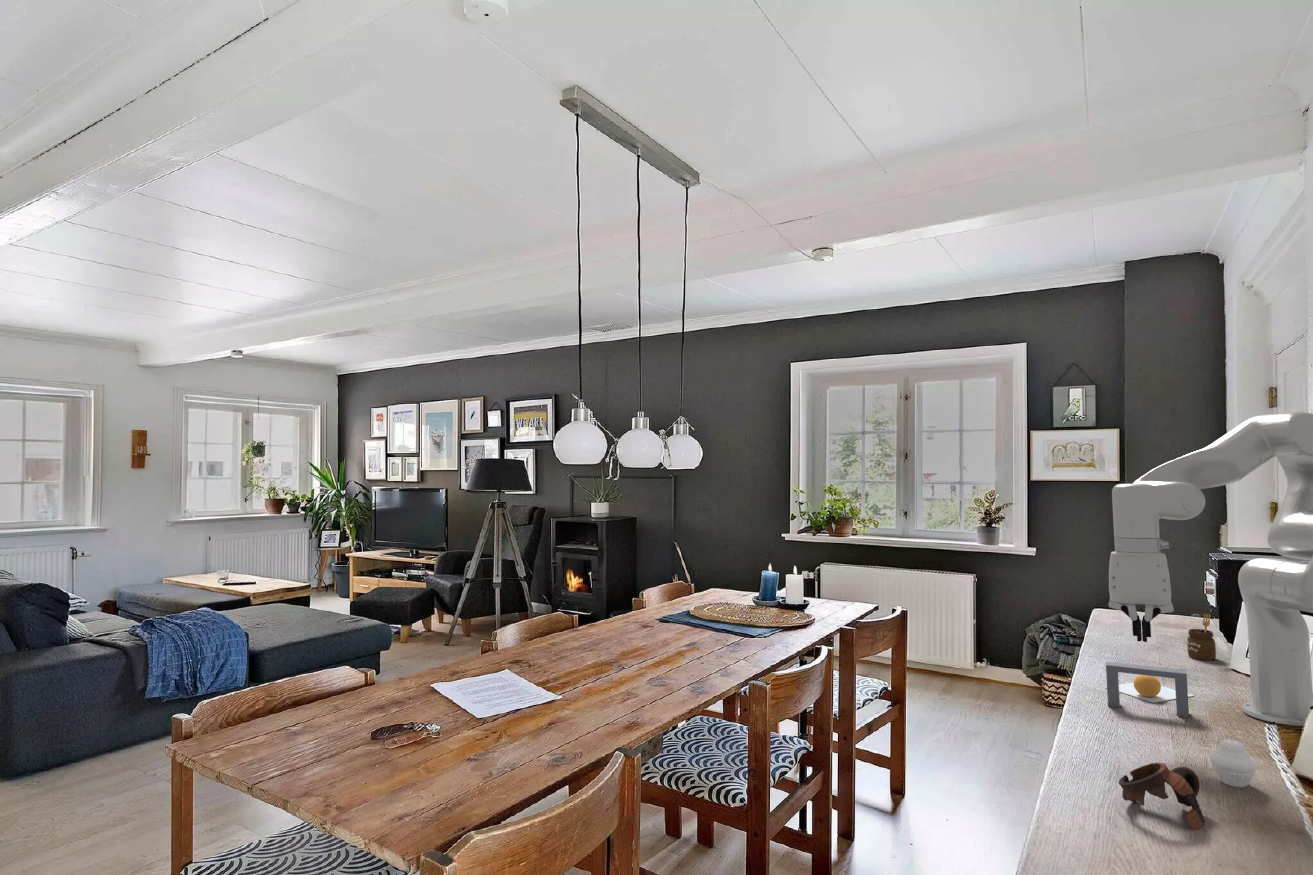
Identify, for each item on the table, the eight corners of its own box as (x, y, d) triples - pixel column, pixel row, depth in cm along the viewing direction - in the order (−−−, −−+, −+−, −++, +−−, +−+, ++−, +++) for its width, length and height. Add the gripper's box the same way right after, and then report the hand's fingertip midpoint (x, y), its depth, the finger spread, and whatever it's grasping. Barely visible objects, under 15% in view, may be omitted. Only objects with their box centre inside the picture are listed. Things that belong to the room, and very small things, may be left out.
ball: (1145, 667, 161) (1144, 689, 158) (1166, 676, 161) (1166, 698, 158) (1128, 672, 165) (1128, 693, 163) (1149, 681, 165) (1149, 702, 162)
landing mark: (1143, 681, 172) (1143, 680, 172) (1194, 696, 161) (1194, 695, 161) (1104, 687, 169) (1104, 686, 169) (1153, 703, 157) (1153, 702, 157)
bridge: (1108, 702, 158) (1106, 661, 159) (1188, 713, 151) (1186, 670, 151) (1108, 706, 156) (1105, 665, 156) (1189, 717, 148) (1186, 673, 148)
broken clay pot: (1189, 842, 101) (1150, 783, 104) (1134, 844, 109) (1099, 789, 112) (1235, 801, 107) (1196, 746, 109) (1179, 806, 114) (1144, 754, 117)
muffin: (1251, 795, 114) (1248, 749, 114) (1204, 782, 119) (1202, 738, 119) (1264, 784, 117) (1261, 740, 118) (1218, 772, 122) (1215, 729, 123)
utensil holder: (1206, 655, 194) (1204, 609, 194) (1222, 661, 188) (1219, 614, 188) (1182, 655, 194) (1180, 609, 195) (1197, 661, 188) (1195, 614, 189)
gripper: (1183, 545, 143) (1188, 640, 142) (1094, 543, 151) (1099, 632, 151) (1184, 549, 137) (1190, 649, 136) (1091, 546, 145) (1096, 640, 144)
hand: (1142, 640), depth 143 cm, fingers closed
